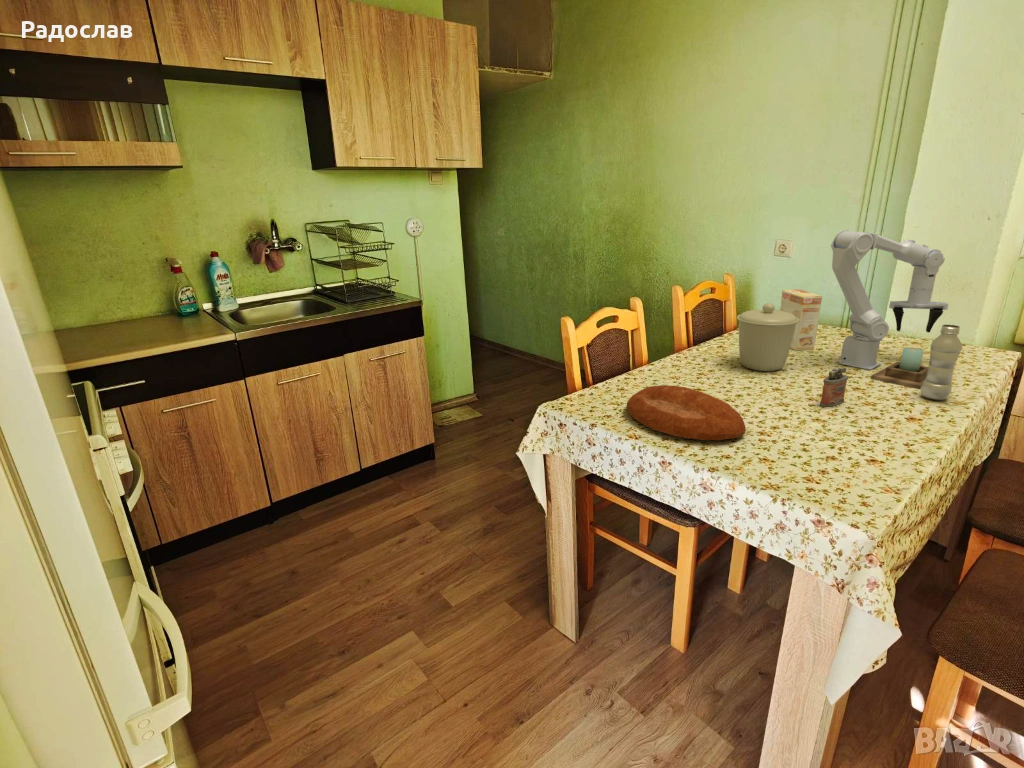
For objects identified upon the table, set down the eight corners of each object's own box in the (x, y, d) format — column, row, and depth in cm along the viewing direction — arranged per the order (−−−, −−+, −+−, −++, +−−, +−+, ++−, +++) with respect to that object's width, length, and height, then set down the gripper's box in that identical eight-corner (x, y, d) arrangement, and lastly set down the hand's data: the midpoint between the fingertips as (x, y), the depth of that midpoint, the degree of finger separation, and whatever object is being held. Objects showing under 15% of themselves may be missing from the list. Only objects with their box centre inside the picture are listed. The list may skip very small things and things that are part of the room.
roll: (894, 375, 156) (900, 349, 153) (901, 372, 159) (906, 346, 156) (914, 379, 152) (920, 352, 150) (920, 375, 155) (926, 349, 152)
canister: (731, 373, 168) (738, 308, 161) (732, 357, 184) (738, 297, 177) (794, 377, 161) (804, 310, 154) (789, 360, 177) (798, 298, 170)
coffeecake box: (814, 350, 187) (823, 295, 180) (794, 350, 187) (802, 296, 181) (794, 339, 201) (801, 288, 194) (775, 340, 201) (781, 289, 195)
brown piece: (870, 378, 157) (872, 367, 156) (889, 368, 165) (891, 357, 164) (926, 390, 147) (929, 378, 145) (943, 378, 154) (946, 367, 153)
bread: (654, 396, 153) (656, 367, 150) (763, 426, 130) (767, 393, 127) (605, 418, 139) (605, 387, 136) (717, 457, 117) (721, 421, 114)
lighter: (828, 409, 138) (834, 373, 135) (816, 405, 141) (821, 369, 137) (847, 402, 141) (853, 367, 138) (834, 398, 144) (840, 364, 141)
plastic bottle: (942, 394, 143) (960, 323, 136) (953, 403, 137) (972, 329, 130) (914, 393, 145) (930, 322, 138) (923, 401, 139) (941, 328, 132)
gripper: (894, 290, 162) (887, 332, 166) (954, 291, 155) (944, 335, 160) (891, 286, 167) (884, 327, 172) (948, 287, 161) (939, 329, 166)
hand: (912, 331), depth 166 cm, fingers open, 7 cm apart
